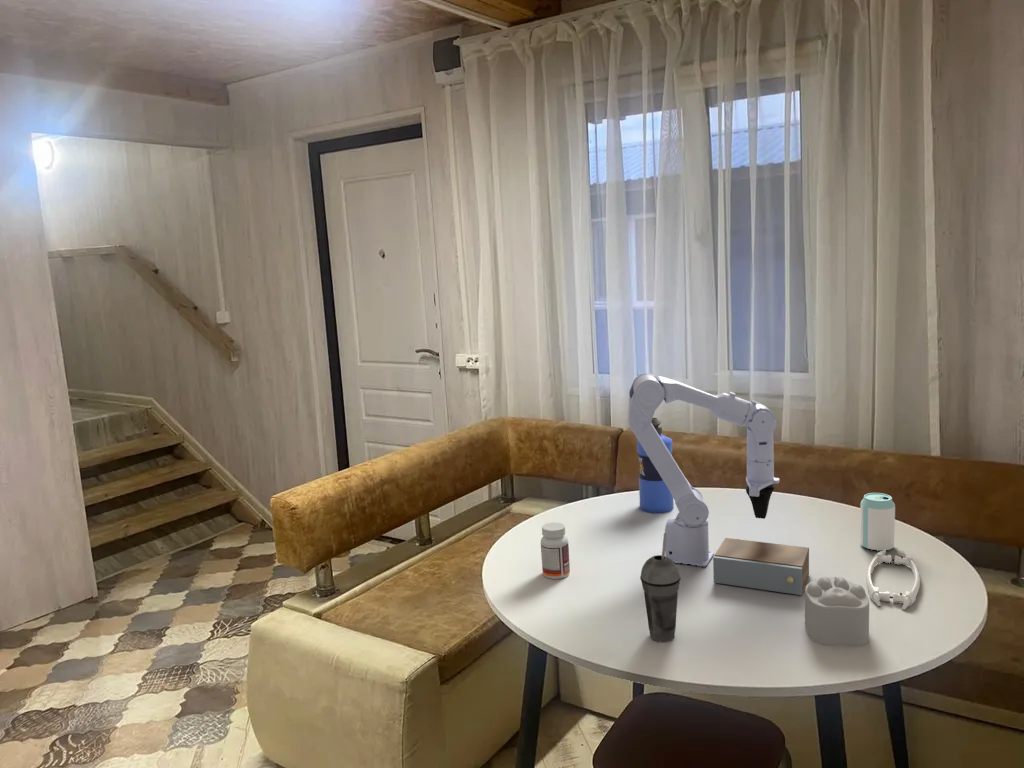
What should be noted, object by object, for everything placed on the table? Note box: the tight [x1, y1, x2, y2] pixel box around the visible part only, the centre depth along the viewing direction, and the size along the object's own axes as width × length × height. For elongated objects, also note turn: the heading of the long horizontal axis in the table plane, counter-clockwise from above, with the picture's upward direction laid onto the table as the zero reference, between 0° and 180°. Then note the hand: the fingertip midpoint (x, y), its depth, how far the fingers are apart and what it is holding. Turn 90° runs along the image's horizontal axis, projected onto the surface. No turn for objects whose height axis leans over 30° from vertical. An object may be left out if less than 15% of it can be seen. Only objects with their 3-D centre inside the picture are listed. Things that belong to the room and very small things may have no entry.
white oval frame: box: [865, 549, 921, 611], centre depth 159 cm, size 3×10×25 cm
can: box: [859, 492, 896, 552], centre depth 175 cm, size 7×7×12 cm
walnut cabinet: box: [714, 537, 810, 594], centre depth 164 cm, size 18×10×6 cm, turn 62°
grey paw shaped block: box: [804, 576, 870, 647], centre depth 142 cm, size 10×13×9 cm
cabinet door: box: [712, 555, 803, 596], centre depth 159 cm, size 18×2×6 cm, turn 62°
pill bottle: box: [540, 521, 571, 580], centre depth 172 cm, size 6×6×11 cm
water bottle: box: [636, 417, 675, 514], centre depth 209 cm, size 9×9×25 cm
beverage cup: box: [639, 532, 682, 643], centre depth 142 cm, size 7×7×20 cm
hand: (760, 517), depth 174 cm, fingers closed
